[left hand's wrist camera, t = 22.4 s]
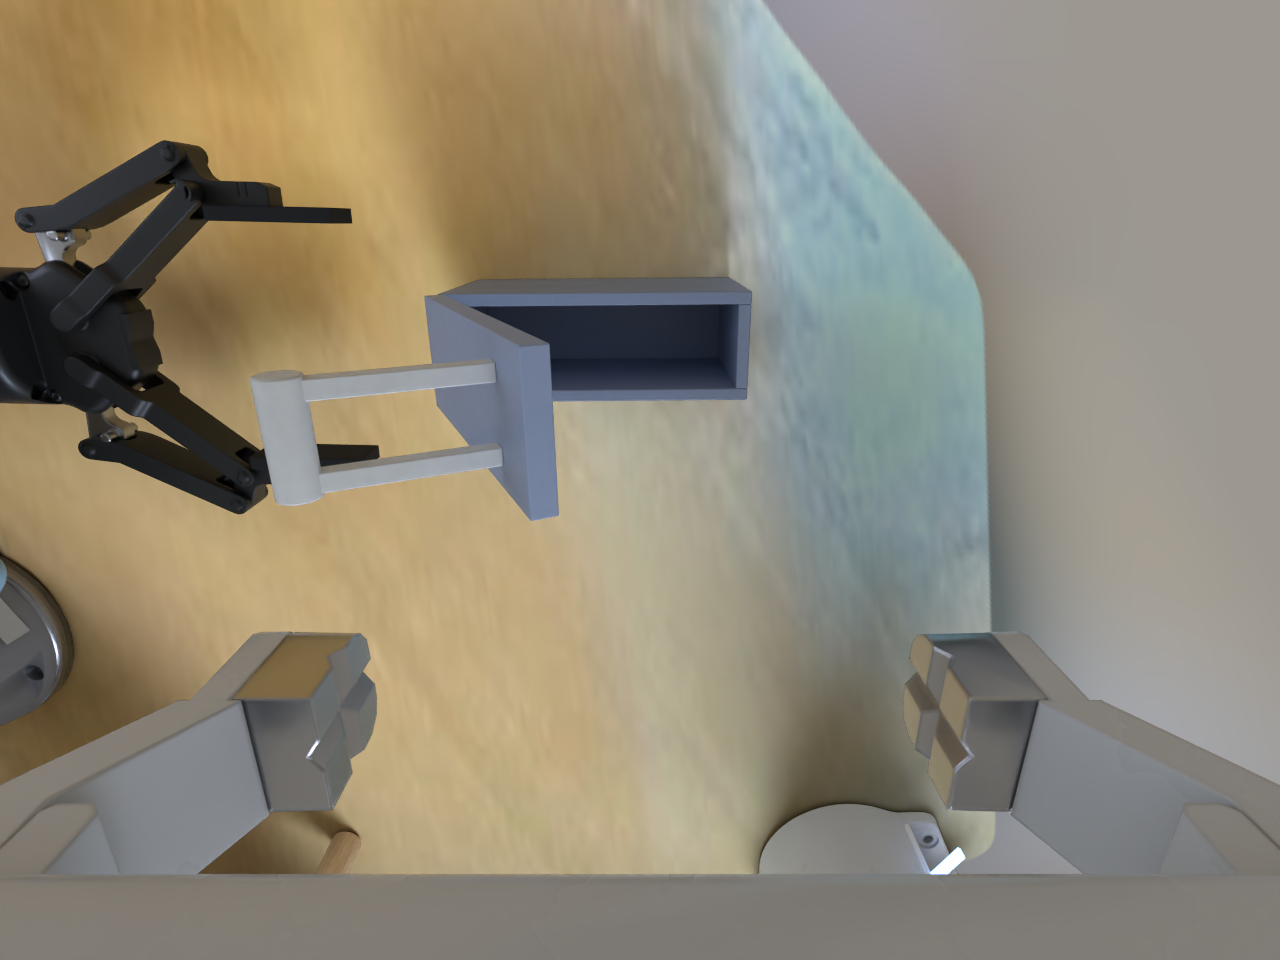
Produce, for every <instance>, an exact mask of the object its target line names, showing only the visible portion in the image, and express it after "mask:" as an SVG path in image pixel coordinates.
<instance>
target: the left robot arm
mask: <svg viewBox="0 0 1280 960" xmlns="http://www.w3.org/2000/svg"><path fill="white" fill-rule="evenodd" d="M370 659H371V658H370V653H369V648H368V643H367V639H366V638H365V637H364V636H363V635H362V634H361V633H317V632H294V633H293V632H260V633H256V634H253V635H252V636H251V637H250V638H249V639H248V640H247V641H246V642H245V643H244V644H243V645H242V646H241V647H240V648H239V650H238V651H237V652H236V653H235V654H234V655H233V656H232V657H231V658H230V659H229V660H228V661H227V662H226V663H225V664H224V665H223V666H222V667H221V668H220V670H219V671H218V672H217V673H216V674H215V675H214V676H213V677H212V678H211V679H210V680H209V681H208V682H207V683H206V684H205V685H204V686H203V687H202V689H201V690H200V691H199V692H198V693H197V694H196V695H195V696H194V697H193V698H192V699H191V700H178V701H176V702H174V703H172V704H170V705H168V706H166V707H164V708H162V709H159V710H157V711H155V712H153V713H151V714H149V715H147V716H145V717H143V718H140V719H138V720H136V721H134V722H132V723H130V724H128V725H126V726H124V727H121V728H119V729H117V730H115V731H113V732H111V733H109V734H107V735H105V736H102V737H100V738H98V739H96V740H94V741H92V742H90V743H88V744H86V745H83V746H81V747H79V748H77V749H75V750H73V751H71V752H69V753H67V754H64V755H62V756H60V757H58V758H56V759H54V760H52V761H50V762H48V763H45V764H43V765H41V766H39V767H37V768H35V769H33V770H31V771H29V772H26V773H24V774H22V775H20V776H18V777H16V778H14V779H12V780H10V781H7V782H5V783H3V784H1V785H0V960H1280V785H1278V784H1276V783H1274V782H1272V781H1270V780H1268V779H1266V778H1264V777H1261V776H1259V775H1257V774H1255V773H1253V772H1251V771H1249V770H1247V769H1245V768H1243V767H1240V766H1238V765H1236V764H1234V763H1232V762H1230V761H1228V760H1226V759H1224V758H1222V757H1219V756H1217V755H1215V754H1213V753H1211V752H1209V751H1207V750H1205V749H1203V748H1200V747H1198V746H1196V745H1194V744H1192V743H1190V742H1188V741H1186V740H1184V739H1182V738H1179V737H1177V736H1175V735H1173V734H1171V733H1169V732H1167V731H1165V730H1163V729H1160V728H1158V727H1156V726H1154V725H1152V724H1150V723H1148V722H1146V721H1144V720H1142V719H1139V718H1137V717H1135V716H1133V715H1131V714H1129V713H1127V712H1125V711H1123V710H1120V709H1118V708H1116V707H1114V706H1112V705H1110V704H1108V703H1106V702H1104V701H1102V700H1089V699H1088V698H1087V697H1086V696H1085V695H1084V694H1083V693H1082V692H1081V691H1080V689H1079V688H1078V687H1077V686H1076V685H1075V684H1074V683H1073V682H1072V681H1071V680H1070V679H1069V678H1068V677H1067V676H1066V675H1065V674H1064V673H1063V672H1062V670H1061V669H1060V668H1059V667H1058V666H1057V665H1056V664H1055V663H1054V662H1053V661H1052V660H1051V659H1050V658H1049V657H1048V656H1047V655H1046V654H1045V653H1044V651H1043V650H1042V649H1041V648H1040V647H1039V646H1038V645H1037V644H1036V643H1035V642H1034V641H1033V640H1032V639H1031V638H1030V637H1029V636H1028V635H1026V634H1024V633H1022V632H1019V631H1015V632H988V633H962V634H917V635H916V637H915V639H914V641H913V643H912V646H911V652H910V657H909V659H910V660H911V662H912V664H913V665H914V667H915V669H916V670H917V672H916V673H915V674H914V675H913V676H912V677H911V678H910V679H909V681H908V682H907V683H906V684H905V689H904V697H903V711H904V722H905V725H906V729H907V732H908V735H909V738H910V740H911V742H912V744H913V746H914V748H915V749H916V750H917V751H919V752H920V753H922V754H923V755H924V756H926V757H927V758H929V759H930V761H929V767H928V775H929V777H930V778H931V780H932V782H933V784H934V786H935V788H936V790H937V792H938V793H939V795H940V797H941V799H942V801H943V803H944V805H945V807H946V808H947V810H963V811H999V812H1011V815H1012V816H1013V817H1014V818H1015V819H1016V820H1018V821H1019V822H1020V823H1021V824H1023V825H1024V826H1025V827H1026V828H1027V829H1029V830H1030V831H1031V832H1032V833H1034V834H1035V835H1036V836H1037V837H1038V838H1040V839H1041V840H1042V841H1043V842H1045V843H1046V844H1047V845H1048V846H1050V847H1051V848H1052V849H1053V850H1054V851H1056V852H1057V853H1058V854H1059V855H1061V856H1062V857H1063V858H1064V859H1065V860H1067V861H1068V862H1069V863H1070V864H1072V865H1073V866H1074V867H1075V868H1076V869H1078V870H1079V871H1080V872H1081V873H1083V874H958V873H957V871H956V868H955V867H956V866H957V865H958V864H959V863H960V862H961V861H962V860H964V859H965V856H964V855H963V853H962V851H961V849H960V848H957V849H955V850H954V851H953V852H952V853H951V854H949V851H948V849H947V847H946V844H945V842H944V839H943V837H942V835H941V832H940V830H939V827H938V825H937V822H936V820H935V818H934V817H933V816H932V815H931V814H929V813H925V812H902V813H896V812H891V811H887V810H883V809H880V808H877V807H873V806H868V805H861V804H837V805H830V806H825V807H821V808H817V809H814V810H811V811H808V812H806V813H804V814H801V815H799V816H797V817H796V818H794V819H792V820H791V821H789V822H788V823H786V824H785V825H784V826H782V827H781V828H780V829H779V830H778V831H777V832H776V833H775V834H774V835H773V836H772V837H771V839H770V840H769V841H768V843H767V844H766V846H765V848H764V850H763V853H762V855H761V859H760V864H759V874H198V873H199V872H200V871H201V870H203V869H204V868H205V867H206V866H207V865H209V864H210V863H211V862H212V861H214V860H215V859H216V858H217V857H218V856H220V855H221V854H222V853H223V852H225V851H226V850H227V849H228V848H230V847H231V846H232V845H233V844H234V843H236V842H237V841H238V840H239V839H241V838H242V837H243V836H244V835H245V834H247V833H248V832H249V831H250V830H252V829H253V828H254V827H255V826H257V825H258V824H259V823H260V822H261V821H263V820H264V819H265V818H266V817H268V816H269V812H280V811H315V810H333V809H334V807H335V805H336V803H337V801H338V799H339V797H340V795H341V794H342V792H343V790H344V788H345V786H346V784H347V782H348V780H349V778H350V777H351V775H352V767H351V761H350V759H351V758H353V757H354V756H356V755H357V754H358V753H360V752H361V751H363V750H364V749H365V748H366V746H367V744H368V742H369V740H370V738H371V735H372V733H373V728H374V724H375V720H376V715H377V695H376V688H375V684H374V683H373V682H372V681H371V679H370V678H369V677H368V676H367V675H366V674H365V673H364V672H363V670H364V669H365V667H366V665H367V664H368V662H369V661H370Z"/></svg>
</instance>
